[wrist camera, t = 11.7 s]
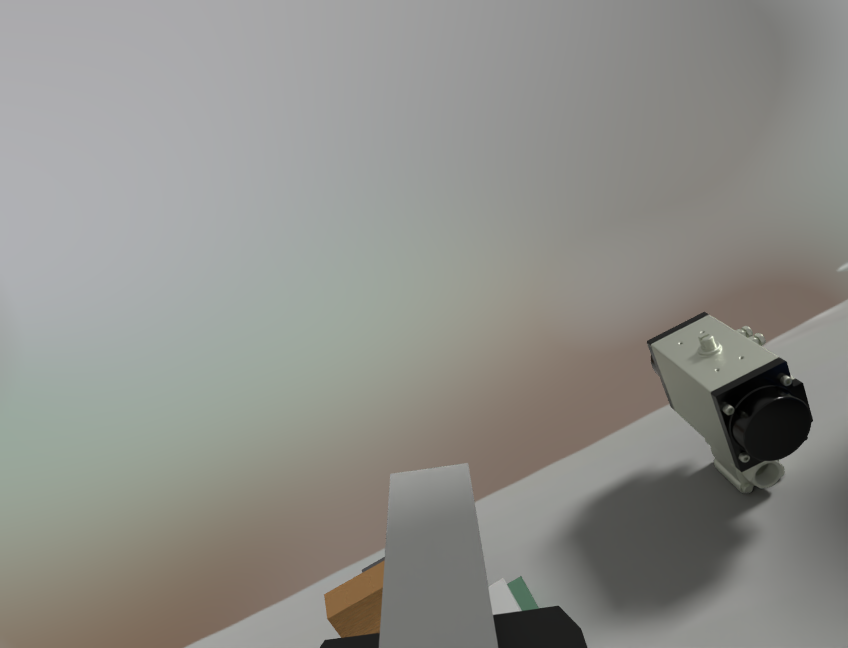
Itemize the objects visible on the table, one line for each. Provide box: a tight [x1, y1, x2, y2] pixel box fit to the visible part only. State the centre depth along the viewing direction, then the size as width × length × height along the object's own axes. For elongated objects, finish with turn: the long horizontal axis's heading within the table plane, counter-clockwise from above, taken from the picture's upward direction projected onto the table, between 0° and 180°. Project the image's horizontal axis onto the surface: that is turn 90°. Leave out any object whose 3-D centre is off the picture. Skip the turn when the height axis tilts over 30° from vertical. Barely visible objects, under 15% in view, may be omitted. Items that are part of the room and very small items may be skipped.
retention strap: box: [324, 560, 385, 638], centre depth 39 cm, size 14×5×10 cm, turn 14°
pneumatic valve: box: [647, 312, 813, 493], centre depth 46 cm, size 6×12×12 cm, turn 9°
